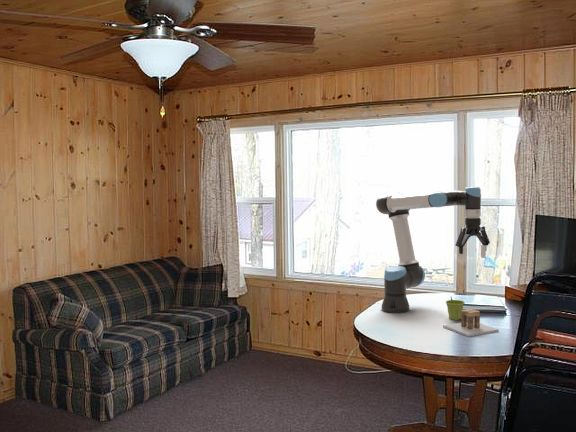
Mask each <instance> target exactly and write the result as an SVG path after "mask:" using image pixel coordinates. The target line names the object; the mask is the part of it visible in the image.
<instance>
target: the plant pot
mask: <svg viewBox="0 0 576 432" xmlns="http://www.w3.org/2000/svg"><path fill="white" fill-rule="evenodd" d="M465 303H466V302H465V301H463V300H461V299H449V300H446V301H445V304H446V306H447V311H448V312H447V313H448V319H450V320H453V321H454V320H455V321H459V320H461V310H464V306H465Z"/></svg>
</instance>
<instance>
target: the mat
mask: <svg viewBox="0 0 576 432" xmlns="http://www.w3.org/2000/svg"><path fill="white" fill-rule="evenodd" d="M442 328H444V329H447V330H449V331H452V332H455V333H457V334H460V335H463V336H465V337H469V338H470V337H476V336H481V335H487V334H492V333H497V332H499V328H496V327H492V326H490V325H486V324H483V323H481V322H480V328H474V326H473V329H467V327H461V321H460V322H454V323H449V324H443V325H442ZM475 335H476V336H475Z"/></svg>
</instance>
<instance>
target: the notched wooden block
mask: <svg viewBox="0 0 576 432" xmlns="http://www.w3.org/2000/svg"><path fill="white" fill-rule="evenodd" d="M480 315H481V312H480V310H477V309H473V308H467V309H463V310H461V319H460V322H461V327H467V329H473V326H474V328H480V323H481V317H480Z"/></svg>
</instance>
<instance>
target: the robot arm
mask: <svg viewBox="0 0 576 432" xmlns="http://www.w3.org/2000/svg"><path fill="white" fill-rule="evenodd" d="M481 189H482V188H480V186H467V187H465V188H464V190H446V191H435V192H426V193H425V192H424V193H415V194H406V193H404V192H391V193H383V194H380V195H379V196H378V198H377V199H376V201H375V207H376V209H377V211H378V212H379V213H380V214H383V215H388V219H390V221H392V226H393V231H394V236H395V242H396V247H397V253H398V258H399V263H398V264H397V265H395V266H388V267H387V268H385V270H384V275H383V278H384V281H383V282H384V283H383V284H384V297H383V300H382V304H381V310H382V311H383V312H386V313H392V314H402V313H407V312H409V311H410V304H409V301H408V297H407V289H410V288H417V287H419V286H421V285H422V284H423V283H424V282H425V280H426V279H425V278H426V271H425V269H424V268H423V267H422V266H421V265H420V263H419V260H416V257H415V252H414V251H415V250H414V246H413V241H412V236H411V231H410V225H409V220H408V217H409V216H410V210H415V209H426V208H427V209H428V208H442V207H452V206H463V207H464V208H465V209H464V217H465V219H464V225H465V227H460V232H459V235H458V237H457V240H456V243H455V246H456V247H457V248H458V253H459V260H460V261H463V262H464V261H465V260H466V259H465V258H466V257H465V256H466V251H465V250H466V247H465V245H467V241H469V239H470V238H471V237H474V236H475V237H476V238H477V239H478V240H479V242H480V244H481V245H480V259H487V257H486V256H487V253H486V252H487V247H488V245H490V243H491V242H490V238H489V236H488V234H487V231H486V227H485V226H484V225H482V219H481V217H482V216H481V215H482V212H481V211H482V210H481V209H482V207H481V201H482V193H481Z"/></svg>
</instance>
